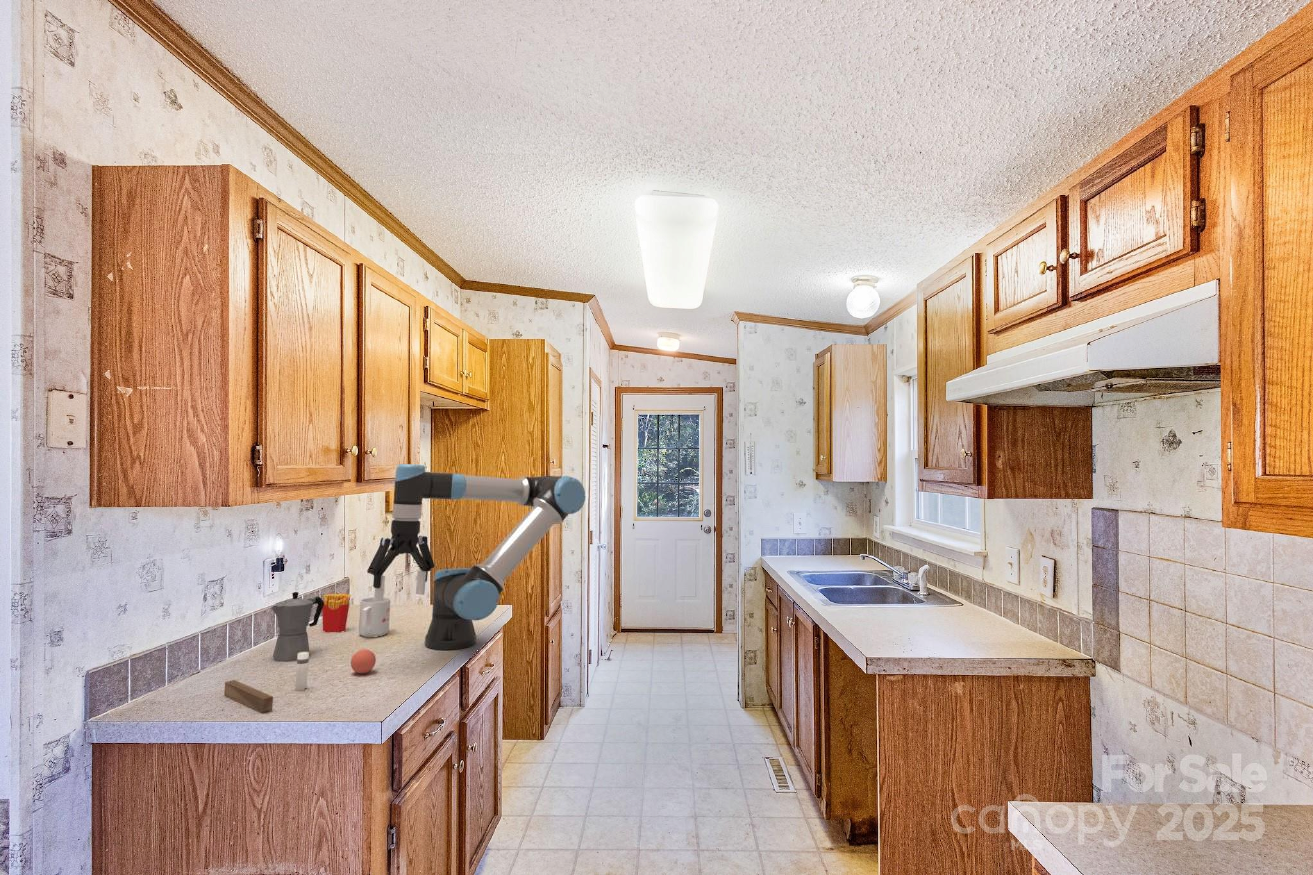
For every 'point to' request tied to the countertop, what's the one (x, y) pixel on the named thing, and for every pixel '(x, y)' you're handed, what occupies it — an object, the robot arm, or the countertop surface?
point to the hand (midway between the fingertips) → (400, 597)
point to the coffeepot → (294, 626)
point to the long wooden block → (248, 696)
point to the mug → (374, 617)
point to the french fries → (335, 612)
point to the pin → (302, 670)
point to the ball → (363, 661)
